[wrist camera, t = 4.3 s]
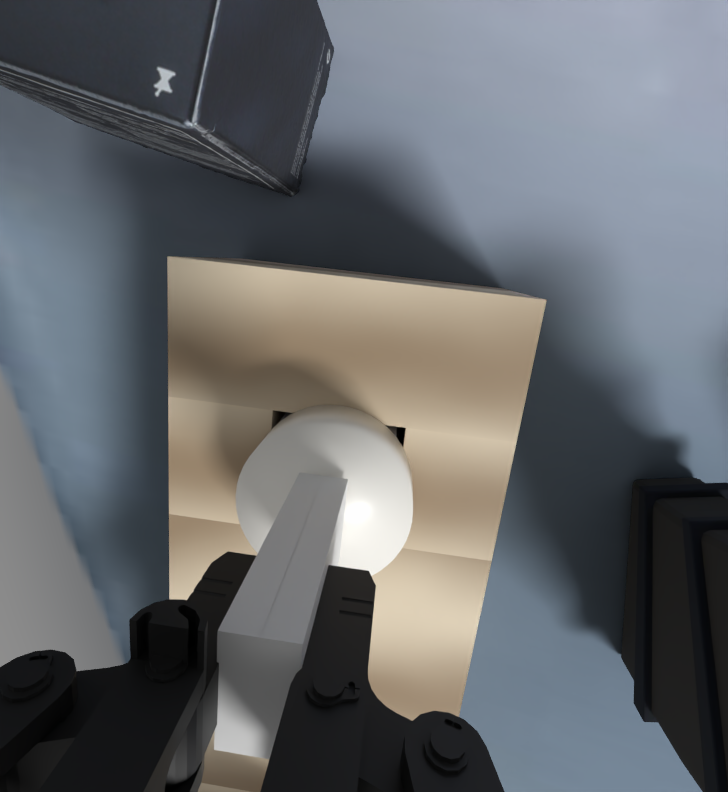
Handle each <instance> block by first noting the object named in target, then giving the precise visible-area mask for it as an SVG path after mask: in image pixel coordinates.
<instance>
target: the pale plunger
mask: <svg viewBox="0 0 728 792" xmlns="http://www.w3.org/2000/svg"><path fill="white" fill-rule="evenodd" d="M396 430H397V427H396V426H388V425H384V424H383V423H382V422H380V421H379V420H377V419H376V418H374V417H373V416H371V415H369V414H367V413H365V412H363V411H360V410H357V409H354V408H351V407H346V406H341V405H317V406H312V407H307V408H304V409H301V410H298V411H296V412H294V413H290V412H286V414H285V415H284V416H283V417H282V419H281V420H280V422H279V423H278V424H277V425H275V426H274V427H273V429H272V430H271V431H270V432H269V433H268V434H267V436H266V437H265V438H264V439H263V441H262V442H261V443H260V444H259V445H258V447H257V448H256V449H255V450H254V452H253V453H252V454H251V455H250V456H249V458H248V460H247V461H246V463H245V464H244V466H243V468H242V471H241V473H240V475H239V479H238V483H237V488H236V510H237V516H238V519H239V522H240V526H241V528H242V530H243V532H244V535H245V537H246V538H247V540H248V541H249V543H250V545H251V546H252V547H253V549H254V550H255V551H256V552H257V553H258V552H259V550H260V548H261V546H262V544H263V542H264V540H265V538H266V536H267V534H268V533H269V531H270V529H271V527H272V525H273V523H274V521H275V519H276V517H277V515H278V513H279V511H280V509H281V507H282V506H283V504H284V502H285V500H286V498H287V496H288V494H289V492H290V490H291V488H292V486H293V484H294V482H295V480H296V478H297V477H298V475H299V473H308V474H315V475H322V476H329V477H337V478H344V479H348V485H347V494H346V504H345V513H344V522H343V531H342V540H341V550H340V558H339V562H338V566H340V567H346V568H353V569H360V570H367V571H369V572H370V574H371V576H372V575H374V574H376V573H378V572H379V571H381V570H382V569H383V568H385V567H386V566H387V565H388V564H389V563H390V562H391V561H393V560H394V559H395V557H396V556H397V555H398V553H399V552H400V551H401V549H402V548H403V546H404V544H405V542H406V540H407V538H408V535H409V532H410V529H411V524H412V517H413V487H412V471H411V467H410V462H409V459H408V457H407V454H406V452H405V450H404V448H403V446H402V444H401V443H400V441H399V440H398V439H397V437H396Z"/></svg>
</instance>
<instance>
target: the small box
mask: <svg viewBox="0 0 728 792" xmlns="http://www.w3.org/2000/svg"><path fill="white" fill-rule="evenodd" d="M333 53H334V47H333V45H332V43H331V40H330V38H329V34H328V31H327V29H326V26H325V22H324V20H323V17H322V14H321V11H320V9H319V6H318V2H317V0H0V85H2V86H4V87H6V88H8V89H10V90H13V91H15V92H17V93H19V94H21V95H23V96H25V97H27V98H30V99H32V100H34V101H35V102H38V103H40V104H42V105H44V106H46V107H48V108H50V109H52V110H54V111H56V112H58V113H60V114H62V115H64V116H66V117H68V118H69V119H71V120H73V121H75V122H77V123H80V124H84V125H87V126H89V127H92V128H95V129H97V130H100V131H102V132H106V133H108V134H111V135H114V136H117V137H120V138H122V139H126V140H129V141H132V142H134V143H137V144H140V145H142V146H144V147H146V148H151V149H154V150H157V151H160V152H163V153H165V154H168V155H171V156H175V157H177V158H180V159H183V160H186V161H188V162H191V163H194V164H197V165H199V166H201V167H203V168H206V169H210V170H213V171H215V172H219V173H223V174H225V175H227V176H229V177H232V178H235V179H240V180H242V181H246V182H248V183H251V184H255V185H258V186H261V187H264V188H267V189H270V190H273V191H276V192H279V193H282V194H285V195H287V196H289V197H292V196H293V195H295V194H296V193H297V192H299V188H298V187H299V186H300V184H301V178H302V169H303V165H304V163H305V162H306V154H307V151H308V147H309V143H310V139H311V138H312V131H313V128H314V124H315V121H316V119H317V117H318V110H319V106H320V104H321V99H322V97H323V96H324V94H325V91H326V86H327V80H328V77H329V71H330V64H331V60H332V57H333Z"/></svg>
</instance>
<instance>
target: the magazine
mask: <svg viewBox="0 0 728 792" xmlns="http://www.w3.org/2000/svg"><path fill="white" fill-rule="evenodd" d="M621 658H622V660H623V662H624V664H625V665H626V667H627V669H628V671H629V672H630V674H631V676H632V678H633V679H634V704H635V706H636V708H637V710H638V712H639V714H640V716H641V717H642V719H643V721H644V722H658V723H659V724H660V726H661V728H662V729H663V731H664V733H665V734H666V736H667V738H668V739H669V741H670V743H671V744H672V746H673V748H674V749H675V751H676V753H677V754H678V756H679V758H680V759H681V761H682V762H683V764H684V765H685V767H686V768H687V770H688V771H689V773H690V774H691V775H692V777H693V778H694V780H695V781H696V783H697V784H698V785H699V787H700V788H701V790H702V791H703V792H728V483H704V482H702V481H701V480H700V479H697V478H666V479H639V480H636V481H634V483H633V492H632V506H631V521H630V536H629V550H628V565H627V580H626V595H625V609H624V624H623V639H622V653H621Z"/></svg>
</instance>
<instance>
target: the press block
mask: <svg viewBox="0 0 728 792" xmlns="http://www.w3.org/2000/svg"><path fill="white" fill-rule="evenodd" d="M167 274H168V441H169V599H181V600H187V599H188V598H189V596H190V595H191V593H193V591H194V588H195V587H196V585H197V584H198V582H199V581H200V580H201V579H202V576H203V575H204V573H205V572H206V570H207V569H208V567H209V566H210V564H211V563H212V562H213V561H215V560H216V559H218V558H219V557H220V556H222V555H223V554H225V553H226V552H228V551H229V552H235V553H242V554H249V555H256V556H257V554H258V553H257V552H256V551H255V550H254V549H253V547H252V546H251V545H250V543H249V541H248V540H247V538H246V537H245V535H244V532H243V530H242V528H241V526H240V522H239V519H238V516H237V510H236V488H237V483H238V479H239V475H240V473H241V471H242V468H243V466H244V464H245V463H246V461H247V460H248V458H249V456H250V455H251V454H252V453H253V452H254V450H255V449H256V448H257V447H258V445H259V444H260V443H261V442H262V441H263V439H264V438H265V437H266V436H267V434H268V433H269V432H270V431H271V430H272V429H273V427H274V426H275V425H277V424H278V423H279V422H280V420H281V419H282V417H283V416H284V415H285V414H286V412H290V413H294V412H296V411H298V410H301V409H304V408H307V407H312V406H317V405H341V406H346V407H351V408H354V409H357V410H360V411H363V412H365V413H367V414H369V415H371V416H373V417H374V418H376V419H377V420H379V421H380V422H382V423H383V424H384V425H388V426H396V427H397V430H396V437H397V439H398V440H399V441H400V443H401V444H402V446H403V448H404V450H405V452H406V454H407V457H408V459H409V462H410V467H411V471H412V487H413V517H412V524H411V529H410V532H409V535H408V538H407V540H406V542H405V544H404V546H403V548H402V549H401V551H400V552H399V553H398V555H397V556H396V557H395V559H394V560H393V561H391V562H390V563H389V564H388V565H387V566H386V567H385V568H383V569H382V570H381V571H379V572H378V573H376V574H374V575H372V579H373V581H374V583H375V585H376V590H375V601H374V611H373V622H372V632H371V642H370V653H369V663H368V680H369V683H370V686H371V689H372V690H373V692H374V693H375V695H376V697H377V698H378V699H379V700H380V701H381V702H382V703H383V704H384V705H385V706H386V707H388V708H389V709H391V710H393V711H394V712H396V713H397V714H400V715H402V716H404V717H406V718H408V719H410V720H412V721H413V720H414V719H415V718H417V717H418V716H419V715H420V714H423V713H427V712H431V711H441V712H449V713H451V714H453V715H455V716H458V717H459V713H460V708H461V704H462V699H463V694H464V689H465V685H466V680H467V675H468V670H469V666H470V661H471V656H472V651H473V647H474V642H475V637H476V633H477V628H478V623H479V618H480V614H481V609H482V604H483V599H484V595H485V590H486V585H487V580H488V576H489V571H490V566H491V561H492V557H493V552H494V547H495V542H496V538H497V533H498V528H499V523H500V519H501V514H502V509H503V505H504V500H505V495H506V490H507V486H508V481H509V476H510V471H511V467H512V462H513V457H514V452H515V448H516V443H517V438H518V433H519V429H520V424H521V419H522V414H523V410H524V405H525V400H526V395H527V391H528V386H529V381H530V377H531V372H532V367H533V362H534V358H535V353H536V348H537V343H538V339H539V334H540V329H541V324H542V320H543V315H544V310H545V305H546V301H547V300H545V299H541V298H538V297H534V296H530V295H526V294H522V293H519V292H515V291H511V290H507V289H503V288H495V287H486V286H478V285H469V284H460V283H451V282H443V281H434V280H425V279H416V278H408V277H399V276H390V275H381V274H373V273H364V272H355V271H346V270H338V269H329V268H320V267H311V266H303V265H294V264H285V263H276V262H268V261H259V260H250V259H241V258H209V257H176V256H167ZM214 735H215V730H214V733H213V735H212V738H211V740H210V743H209V745H208V747H207V750H206V752H205V760H204V772H203V777H202V782H201V784H200V787H199V790H198V792H260V791H261V788H262V784H263V780H264V777H265V773H266V770H267V766H268V763H269V759H265V758H259V757H253V756H247V755H242V754H236V753H230V752H224V751H218V750H214Z"/></svg>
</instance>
